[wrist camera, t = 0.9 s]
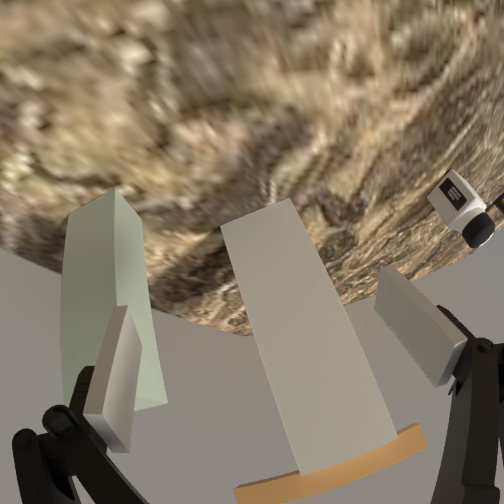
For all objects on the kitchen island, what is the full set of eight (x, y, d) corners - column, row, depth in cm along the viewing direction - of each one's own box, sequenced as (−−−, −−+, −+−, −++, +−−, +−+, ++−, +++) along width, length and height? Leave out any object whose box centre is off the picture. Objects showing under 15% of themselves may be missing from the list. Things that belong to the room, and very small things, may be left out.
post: (219, 225, 42) (301, 475, 24) (289, 197, 41) (398, 437, 23) (237, 255, 49) (308, 464, 31) (297, 231, 48) (386, 434, 30)
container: (425, 196, 51) (464, 251, 44) (450, 167, 46) (494, 221, 39) (440, 204, 55) (476, 254, 48) (464, 178, 50) (503, 228, 43)
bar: (232, 489, 26) (240, 511, 25) (419, 423, 25) (427, 446, 24) (240, 484, 29) (247, 505, 27) (412, 423, 28) (420, 444, 26)
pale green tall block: (68, 214, 32) (64, 407, 20) (115, 187, 32) (127, 394, 19) (97, 241, 37) (108, 415, 25) (141, 218, 37) (168, 403, 24)
